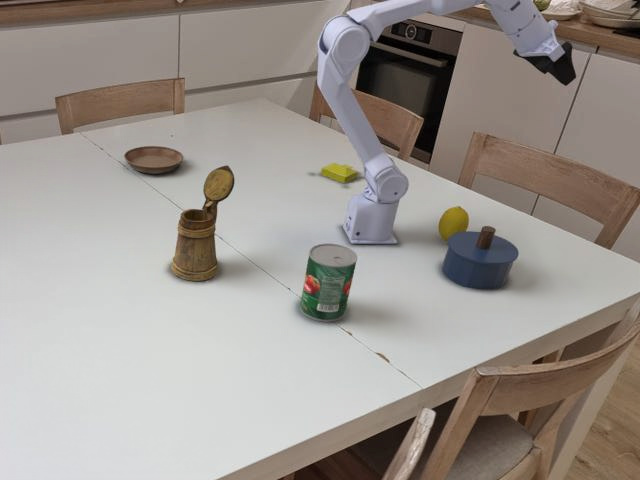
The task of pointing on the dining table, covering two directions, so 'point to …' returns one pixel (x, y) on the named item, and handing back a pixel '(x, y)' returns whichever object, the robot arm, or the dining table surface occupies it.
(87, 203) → the dining table surface
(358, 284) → the dining table surface
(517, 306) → the dining table surface
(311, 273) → the canned tomato
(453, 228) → the lemon
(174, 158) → the saucer
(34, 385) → the dining table surface
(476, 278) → the pot
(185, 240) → the wooden mug
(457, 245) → the pot lid
